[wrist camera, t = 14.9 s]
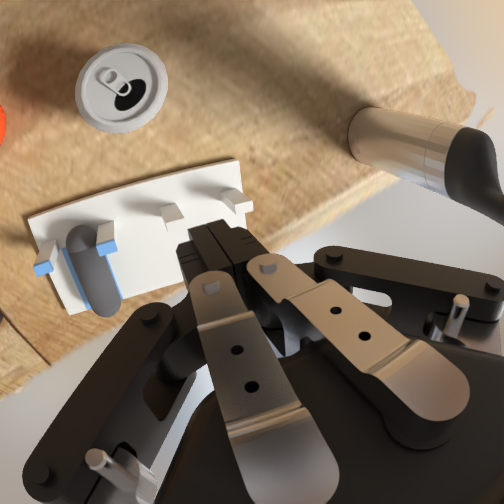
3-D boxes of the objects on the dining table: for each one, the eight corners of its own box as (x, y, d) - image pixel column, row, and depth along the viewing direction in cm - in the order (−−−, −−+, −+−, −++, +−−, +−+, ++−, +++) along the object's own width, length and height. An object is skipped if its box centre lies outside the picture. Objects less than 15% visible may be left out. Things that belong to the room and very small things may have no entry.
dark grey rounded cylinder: (58, 228, 30) (62, 239, 27) (89, 215, 32) (97, 224, 29) (93, 312, 36) (101, 328, 33) (119, 299, 38) (129, 314, 35)
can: (121, 139, 30) (122, 155, 21) (74, 98, 26) (51, 96, 16) (168, 89, 30) (192, 82, 20) (122, 47, 26) (124, 19, 16)
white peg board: (235, 158, 37) (258, 170, 31) (246, 256, 44) (267, 281, 39) (29, 216, 29) (14, 239, 24) (70, 309, 36) (66, 343, 31)
